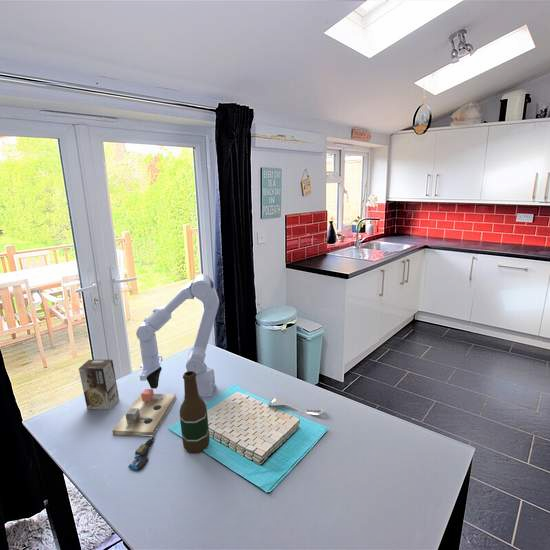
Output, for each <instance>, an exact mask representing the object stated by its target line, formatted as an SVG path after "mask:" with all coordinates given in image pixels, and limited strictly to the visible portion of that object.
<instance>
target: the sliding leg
mask: <svg viewBox="0 0 550 550" xmlns="http://www.w3.org/2000/svg"><path fill="white" fill-rule="evenodd" d="M140 394H141V396H142V401H146V402H151V400H152V399H158V400H163V398H162V397H154V394H155V393H154V389H151V388H144V390H142V392H141V393H140Z"/></svg>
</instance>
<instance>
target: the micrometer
mask: <svg viewBox="0 0 550 550" xmlns="http://www.w3.org/2000/svg"><path fill="white" fill-rule="evenodd" d="M151 437H152V438H149V439H147V441H146V442H145V443H142V444H141V445H140V446H139V447H138V448H137V449H136V451H135V452H134V455H135V456H134V460H132V463H130V464H129V465H127V466H128V468H130V469H132V470H133V471H135V472H137V471H138V472H139V471H141V470H142V469H143V468H144V467H146V465H147V463H148V462H149V458H148V454H149V451H148V450H150V448H149V447H151V446H152V445H153V444H154V440H155V437H153V436H151ZM152 443H153V444H152ZM147 453H148V454H147ZM136 461H138V463H136V464H134V463H135V462H136Z"/></svg>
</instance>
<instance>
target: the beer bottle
mask: <svg viewBox="0 0 550 550" xmlns="http://www.w3.org/2000/svg"><path fill="white" fill-rule="evenodd" d="M182 379H183V383H184V388H183V389H184V391H183V392H184V399H183V400H182V403H181V405H180V408H179V423H180V430H181V437H182V439H181V440H182V445H183V449H184V450H185V451H186V453H188V454H192V455H194V454H196V455H197V454H201V453H202V452H204V451H205V450H204V449H206V448H207V447H209V444H210V429H209V419H208V418H209V417H208V416H209V415H208V409H207V408H208V407H207V404H206V402H205V400H203V398H201V397H200V396H199V393H198V388H197V383H196V373H195V372H194V371H188V372H187V371H186V372H184V373H183V375H182ZM207 449H208V448H207ZM207 449H206V450H207ZM203 450H204V451H203Z"/></svg>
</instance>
